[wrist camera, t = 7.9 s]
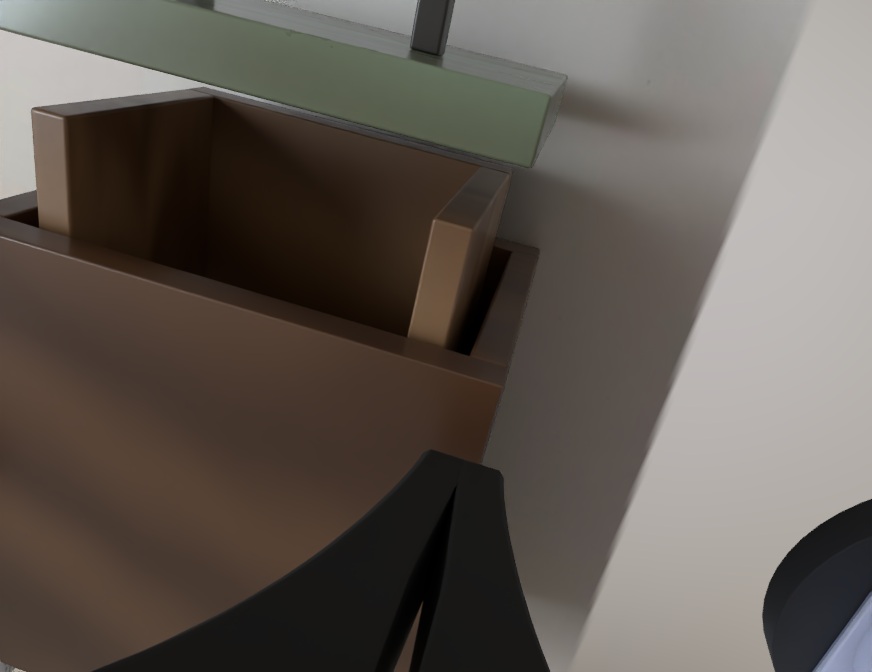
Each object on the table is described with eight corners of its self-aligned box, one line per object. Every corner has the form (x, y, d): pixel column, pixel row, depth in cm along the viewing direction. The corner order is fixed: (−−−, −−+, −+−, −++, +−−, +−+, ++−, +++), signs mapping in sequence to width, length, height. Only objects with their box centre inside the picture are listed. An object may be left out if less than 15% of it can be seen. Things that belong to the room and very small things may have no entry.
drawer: (197, -230, 15) (-61, -405, 9) (629, -140, 14) (654, -273, 8) (176, 375, 23) (26, 494, 17) (457, 464, 22) (405, 626, 16)
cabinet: (182, 150, 20) (-65, 215, 13) (540, 249, 19) (504, 386, 12) (171, 483, 26) (-1, 662, 19) (442, 574, 25) (376, 806, 18)
